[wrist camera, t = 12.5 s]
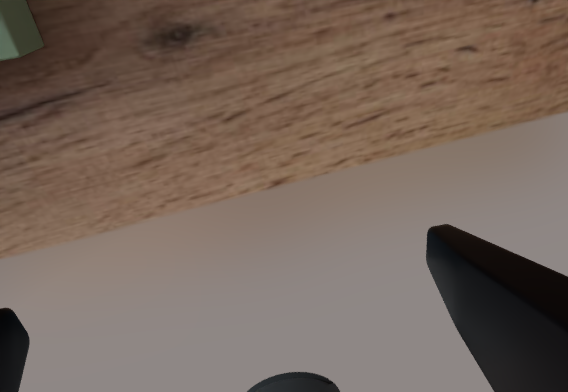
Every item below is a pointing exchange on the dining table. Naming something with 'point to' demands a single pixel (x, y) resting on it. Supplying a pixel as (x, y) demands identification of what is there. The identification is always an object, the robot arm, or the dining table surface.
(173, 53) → the dining table surface
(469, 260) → the robot arm
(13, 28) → the kitchen scale
